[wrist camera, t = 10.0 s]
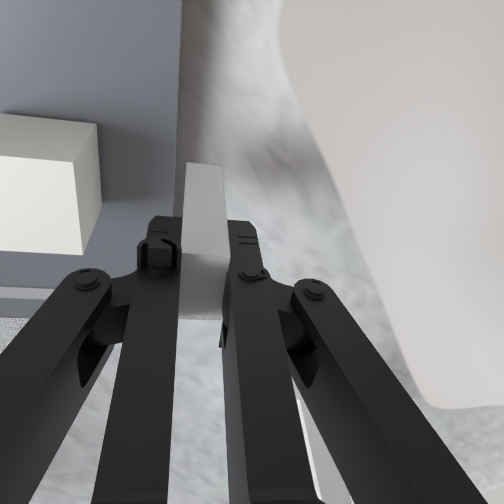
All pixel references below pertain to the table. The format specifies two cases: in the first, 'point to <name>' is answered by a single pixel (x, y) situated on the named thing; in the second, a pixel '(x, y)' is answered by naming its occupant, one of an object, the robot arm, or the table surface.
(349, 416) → the robot arm
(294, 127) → the table surface
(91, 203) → the white cubic block
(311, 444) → the white wedge bracket
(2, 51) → the grey striped board
